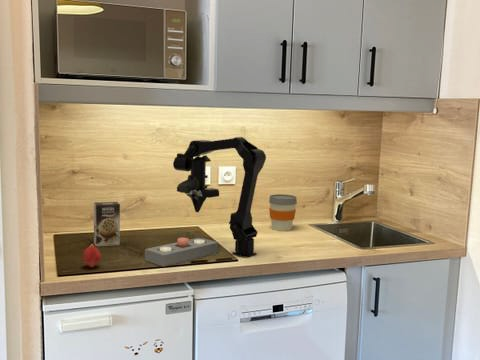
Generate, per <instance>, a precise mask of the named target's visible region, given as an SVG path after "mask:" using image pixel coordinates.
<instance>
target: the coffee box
mask: <svg viewBox="0 0 480 360" xmlns="http://www.w3.org/2000/svg"><path fill="white" fill-rule="evenodd" d="M120 223H121V204H120V203H119V202H118V201H103V202H102V201H101V202H94V203H93V245H94V247H107V246H108V247H110V246H120V245H121V244H120V243H121V242H120V239H121V235H120V234H121V233H120V232H121V231H120V229H121V227H120V226H121V224H120Z"/></svg>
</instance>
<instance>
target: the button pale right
mask: <svg viewBox="0 0 480 360" xmlns="http://www.w3.org/2000/svg"><path fill="white" fill-rule="evenodd" d="M194 243H196V244H202V243H205V240H202V239H196V240H194Z"/></svg>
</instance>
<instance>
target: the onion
mask: <svg viewBox="0 0 480 360" xmlns="http://www.w3.org/2000/svg"><path fill="white" fill-rule="evenodd" d="M101 258H102V253H101V252H100V250H99V249H98V248H97V246H95V244H94V243H91V244H90V245H89V246H88V247H87V248H86V249H84V251H83V253H82V261H83V262H84V263H85V264H86V265H87V266H88V267H90V268H94V267H95V266H97V264H99V262H100V261H101Z"/></svg>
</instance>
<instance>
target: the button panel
mask: <svg viewBox="0 0 480 360" xmlns="http://www.w3.org/2000/svg"><path fill="white" fill-rule="evenodd" d="M196 239H202V240H205V243H202V244H196V243H194V240H196ZM160 247H171V251H167V252H163V251H160ZM215 254H219V241H214V240H212V239H211V240H210V239H207V238H204V237H195V238H194V237H193V238H191V239H189V246H188V247H185V248H180V247H177V242H172V243H167V244H164V245H157V246H154V247H149V248H145V250H144V261H146V262H150V263H152V264H155V265H158V266H160V267H162V268H163V267H164V268H165V267H169V266H171V265H172V266H173V265H175V264H179V263H184V262H187V261H192V260H195V259H199V257H200V258H202V257H203V256H204V257H207V255H208V256H212V255H215Z"/></svg>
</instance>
